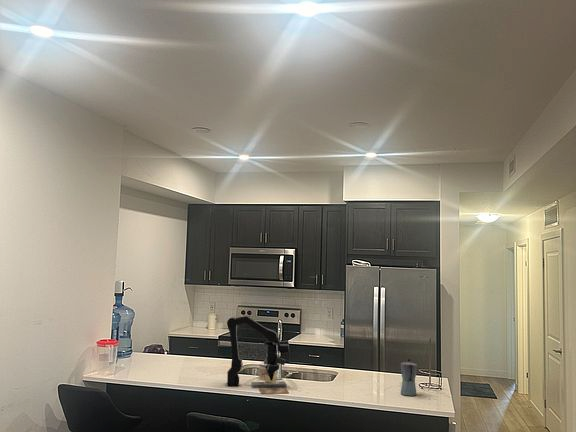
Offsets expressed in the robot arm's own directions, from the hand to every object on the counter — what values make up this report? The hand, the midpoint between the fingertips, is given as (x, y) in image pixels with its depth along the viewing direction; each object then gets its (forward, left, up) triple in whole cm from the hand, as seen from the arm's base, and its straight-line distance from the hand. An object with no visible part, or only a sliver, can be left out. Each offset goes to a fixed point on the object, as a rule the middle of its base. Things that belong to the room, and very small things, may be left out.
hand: (270, 379), depth 318 cm
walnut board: (0, -12, -4) cm, 13 cm away
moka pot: (+77, -24, -4) cm, 81 cm away
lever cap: (0, 0, -1) cm, 1 cm away
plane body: (-1, 0, -4) cm, 4 cm away
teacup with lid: (+2, +21, -4) cm, 22 cm away
